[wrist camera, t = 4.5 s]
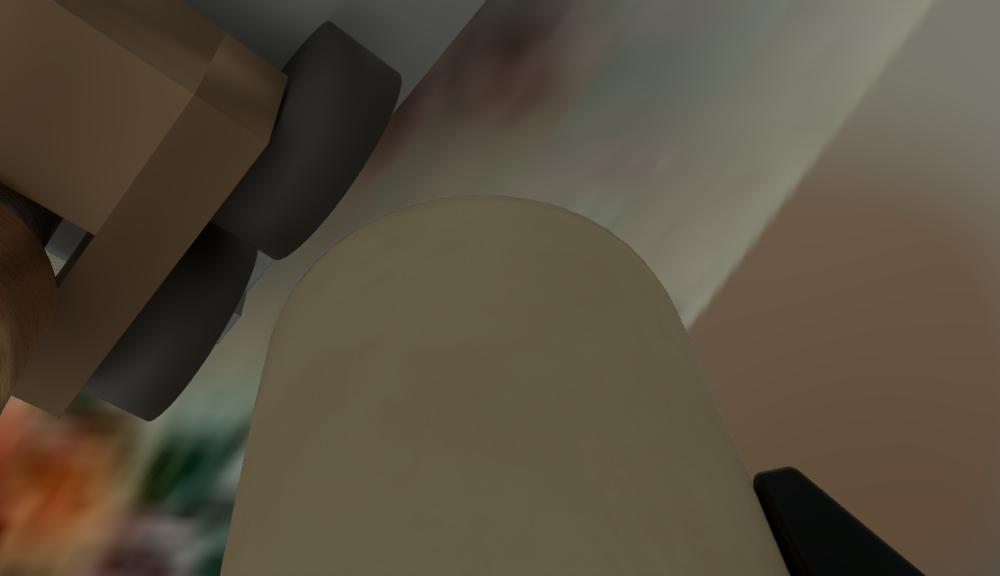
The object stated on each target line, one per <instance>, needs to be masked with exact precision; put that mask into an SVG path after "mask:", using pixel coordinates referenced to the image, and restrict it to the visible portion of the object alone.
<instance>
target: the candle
mask: <svg viewBox="0 0 1000 576" xmlns="http://www.w3.org/2000/svg"><path fill="white" fill-rule="evenodd" d="M220 576H791V575H790V573H789V570H788V568H787V566H786V563H785V561H784V559H783V556H782V554H781V552H780V549H779V547H778V545H777V542H776V540H775V537H774V535H773V533H772V530H771V528H770V526H769V523H768V521H767V519H766V516H765V514H764V512H763V509H762V507H761V505H760V502H759V500H758V497H757V495H756V493H755V490H754V488H753V486H752V483H751V481H750V479H749V476H748V474H747V472H746V469H745V467H744V465H743V463H742V460H741V457H740V455H739V453H738V450H737V448H736V446H735V444H734V441H733V439H732V436H731V434H730V432H729V429H728V427H727V425H726V422H725V420H724V418H723V415H722V413H721V410H720V408H719V406H718V404H717V401H716V399H715V396H714V394H713V392H712V389H711V387H710V385H709V382H708V380H707V377H706V375H705V373H704V371H703V368H702V366H701V364H700V361H699V359H698V356H697V354H696V352H695V350H694V347H693V345H692V343H691V341H690V339H689V336H688V334H687V332H686V330H685V328H684V326H683V324H682V321H681V319H680V317H679V315H678V313H677V311H676V309H675V307H674V305H673V303H672V301H671V299H670V297H669V295H668V292H667V291H666V290H665V288H664V287H663V285H662V284H661V283H660V281H659V280H658V278H657V277H656V276H655V274H654V273H653V272H652V270H651V269H650V268H649V267H648V265H647V264H646V263H645V262H644V261H643V260H642V259H641V258H640V257H639V256H638V255H637V254H636V252H635V251H634V250H633V249H632V248H631V247H630V246H629V245H628V244H626V243H625V242H624V241H622V240H621V239H620V238H618V237H617V236H616V235H614V234H613V233H612V232H610V231H609V230H608V229H606V228H604V227H602V226H600V225H599V224H597V223H595V222H593V221H591V220H590V219H588V218H586V217H584V216H581V215H579V214H576V213H574V212H571V211H569V210H566V209H563V208H561V207H558V206H554V205H550V204H546V203H542V202H538V201H534V200H530V199H522V198H514V197H506V196H465V197H456V198H446V199H440V200H435V201H431V202H427V203H422V204H418V205H413V206H410V207H408V208H405V209H402V210H399V211H396V212H394V213H391V214H388V215H385V216H383V217H381V218H379V219H377V220H375V221H373V222H371V223H369V224H367V225H365V226H363V227H361V228H359V229H358V230H356V231H355V232H353V233H352V234H350V235H349V236H347V237H346V238H344V239H343V240H341V241H340V242H338V243H337V244H336V245H334V246H333V247H332V248H331V249H330V250H329V251H328V252H326V253H325V254H324V255H323V256H322V257H321V258H320V259H319V260H317V261H316V262H315V264H314V265H313V266H312V267H311V268H310V269H309V271H308V272H307V273H306V274H305V275H304V277H303V278H302V279H301V280H300V281H299V283H298V285H297V286H296V288H295V289H294V291H293V293H292V294H291V296H290V297H289V299H288V301H287V303H286V304H285V306H284V308H283V310H282V312H281V314H280V316H279V319H278V321H277V324H276V326H275V328H274V331H273V333H272V335H271V339H270V343H269V347H268V351H267V355H266V360H265V364H264V368H263V372H262V376H261V380H260V385H259V389H258V393H257V398H256V402H255V407H254V412H253V416H252V421H251V426H250V431H249V436H248V441H247V446H246V450H245V455H244V460H243V465H242V470H241V475H240V480H239V484H238V489H237V494H236V499H235V504H234V509H233V514H232V518H231V523H230V528H229V533H228V538H227V543H226V548H225V552H224V557H223V562H222V567H221V572H220Z"/></svg>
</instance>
